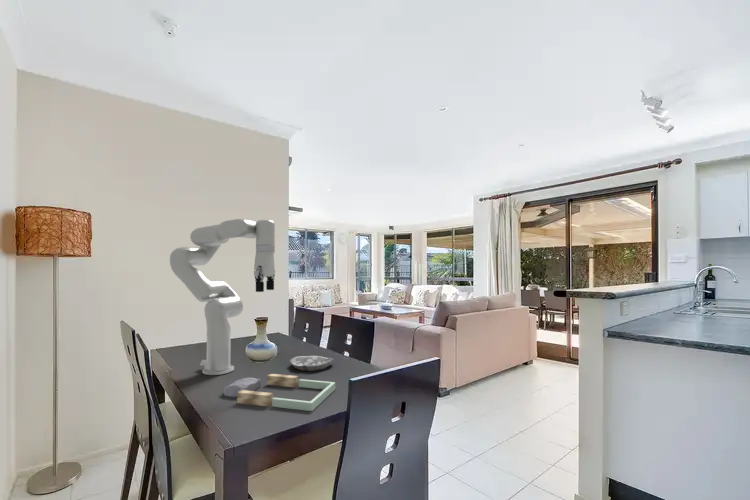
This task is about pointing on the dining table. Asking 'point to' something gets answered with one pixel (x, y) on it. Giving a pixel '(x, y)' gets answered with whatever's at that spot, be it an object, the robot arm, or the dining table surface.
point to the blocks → (264, 397)
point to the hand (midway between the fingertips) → (265, 290)
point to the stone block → (242, 386)
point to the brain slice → (311, 362)
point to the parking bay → (306, 405)
